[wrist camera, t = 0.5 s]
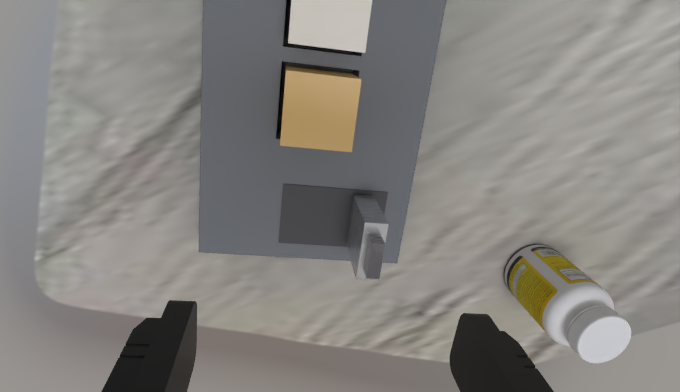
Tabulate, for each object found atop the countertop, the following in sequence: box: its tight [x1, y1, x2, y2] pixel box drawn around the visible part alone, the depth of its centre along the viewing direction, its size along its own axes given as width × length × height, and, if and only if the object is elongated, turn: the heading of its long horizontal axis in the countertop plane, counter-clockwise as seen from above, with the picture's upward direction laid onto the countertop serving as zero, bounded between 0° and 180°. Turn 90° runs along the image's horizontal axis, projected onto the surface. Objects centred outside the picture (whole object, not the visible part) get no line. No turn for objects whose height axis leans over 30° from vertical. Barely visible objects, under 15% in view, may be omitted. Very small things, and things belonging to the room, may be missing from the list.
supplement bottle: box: [505, 245, 631, 363], centre depth 35 cm, size 5×5×10 cm
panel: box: [199, 0, 446, 263], centre depth 31 cm, size 21×15×3 cm
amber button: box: [280, 66, 362, 152], centre depth 29 cm, size 4×4×4 cm
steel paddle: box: [346, 195, 389, 280], centre depth 30 cm, size 4×2×6 cm, turn 173°
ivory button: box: [288, 0, 372, 53], centre depth 27 cm, size 4×4×4 cm
